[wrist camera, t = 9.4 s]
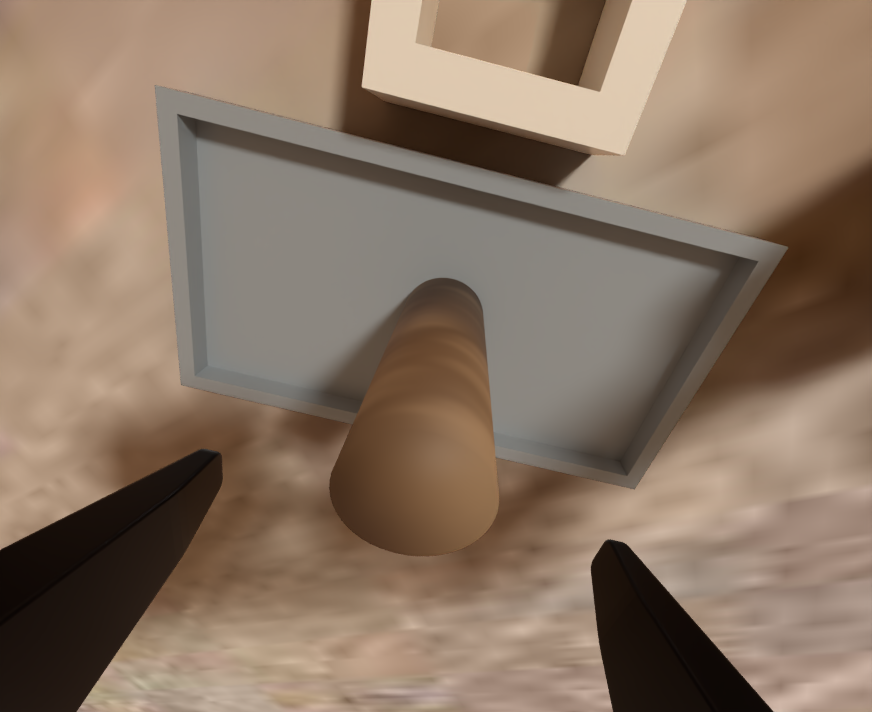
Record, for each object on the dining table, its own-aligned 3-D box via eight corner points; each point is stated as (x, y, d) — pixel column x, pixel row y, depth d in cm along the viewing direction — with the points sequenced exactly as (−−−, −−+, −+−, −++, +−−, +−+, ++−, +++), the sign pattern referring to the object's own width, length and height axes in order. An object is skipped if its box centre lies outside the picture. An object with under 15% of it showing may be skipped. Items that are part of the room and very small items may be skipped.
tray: (760, 238, 18) (788, 247, 16) (623, 467, 24) (634, 489, 23) (184, 91, 17) (154, 84, 15) (200, 369, 23) (180, 385, 22)
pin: (492, 288, 19) (522, 453, 9) (471, 359, 21) (473, 570, 10) (412, 268, 19) (339, 412, 8) (397, 342, 21) (321, 537, 10)
